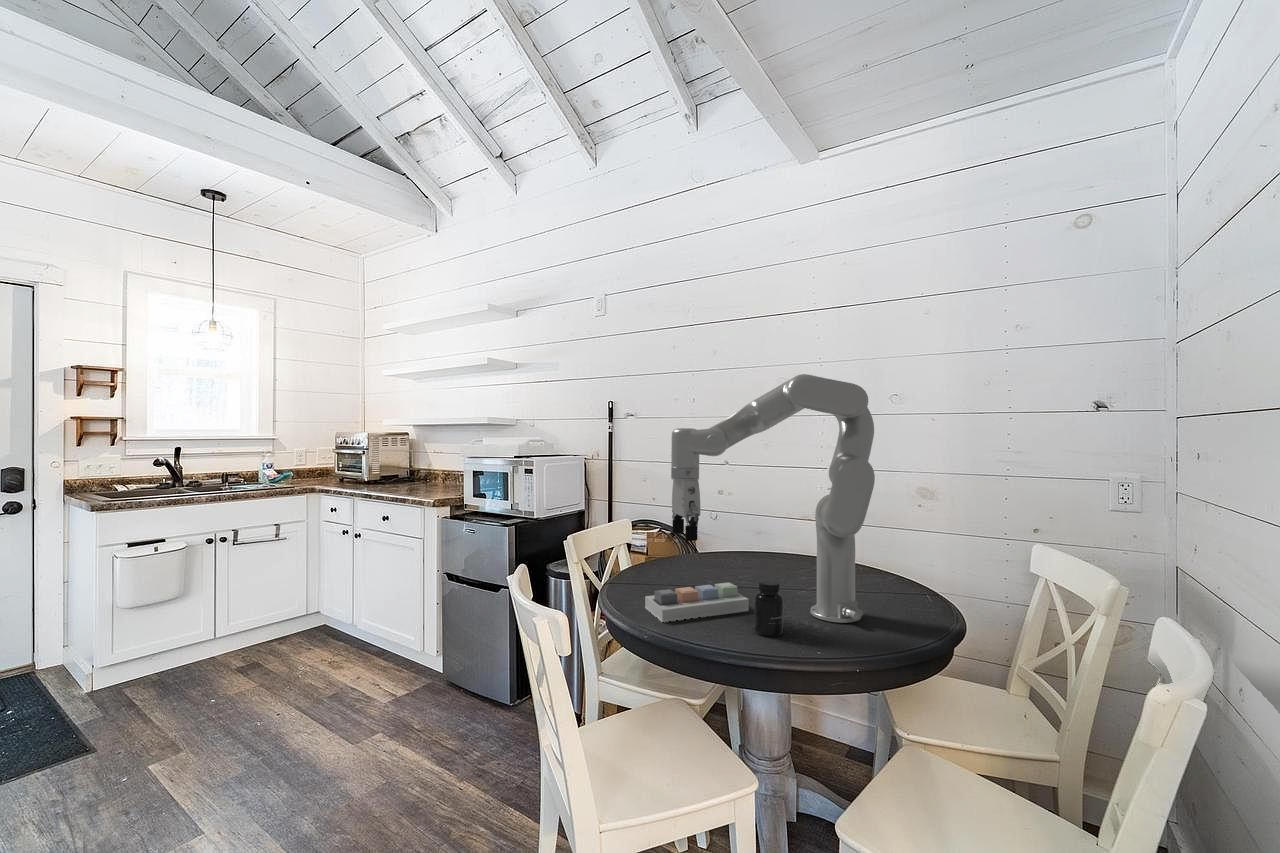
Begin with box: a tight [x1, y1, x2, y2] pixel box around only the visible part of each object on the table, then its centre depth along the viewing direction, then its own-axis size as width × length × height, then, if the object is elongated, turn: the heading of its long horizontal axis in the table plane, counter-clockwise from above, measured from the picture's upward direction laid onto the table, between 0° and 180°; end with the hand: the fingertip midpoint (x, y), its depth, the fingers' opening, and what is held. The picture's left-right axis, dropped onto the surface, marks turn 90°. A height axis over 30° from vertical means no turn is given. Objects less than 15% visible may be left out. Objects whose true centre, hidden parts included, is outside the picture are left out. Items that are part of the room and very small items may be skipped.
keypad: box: [644, 592, 750, 623], centre depth 155 cm, size 12×25×3 cm, turn 110°
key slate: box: [694, 584, 718, 601], centre depth 156 cm, size 5×5×3 cm
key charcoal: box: [653, 588, 677, 606], centre depth 152 cm, size 5×5×3 cm
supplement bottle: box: [753, 579, 784, 638], centre depth 138 cm, size 7×7×12 cm
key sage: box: [714, 582, 739, 598], centre depth 158 cm, size 5×5×3 cm
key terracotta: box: [674, 586, 698, 603], centre depth 154 cm, size 5×5×3 cm
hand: (684, 536), depth 156 cm, fingers open, 9 cm apart
